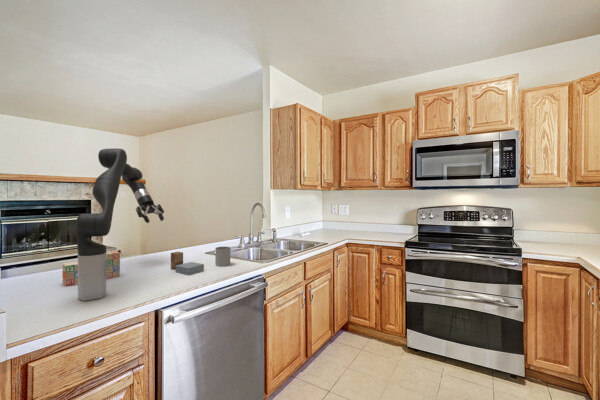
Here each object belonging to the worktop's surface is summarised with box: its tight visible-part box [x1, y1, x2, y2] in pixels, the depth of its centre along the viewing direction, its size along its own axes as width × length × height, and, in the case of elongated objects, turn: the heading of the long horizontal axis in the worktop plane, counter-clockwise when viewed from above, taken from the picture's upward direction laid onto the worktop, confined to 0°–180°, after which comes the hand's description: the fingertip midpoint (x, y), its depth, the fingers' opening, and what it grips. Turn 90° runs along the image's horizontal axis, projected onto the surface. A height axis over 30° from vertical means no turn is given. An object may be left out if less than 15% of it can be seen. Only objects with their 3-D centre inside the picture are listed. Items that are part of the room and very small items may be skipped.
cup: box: [214, 246, 231, 268], centre depth 169 cm, size 8×8×10 cm
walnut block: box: [170, 251, 184, 271], centre depth 159 cm, size 4×4×9 cm
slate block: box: [175, 261, 205, 276], centre depth 154 cm, size 10×10×4 cm
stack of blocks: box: [62, 250, 121, 287], centre depth 137 cm, size 21×6×12 cm, turn 139°
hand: (155, 221), depth 164 cm, fingers open, 8 cm apart
